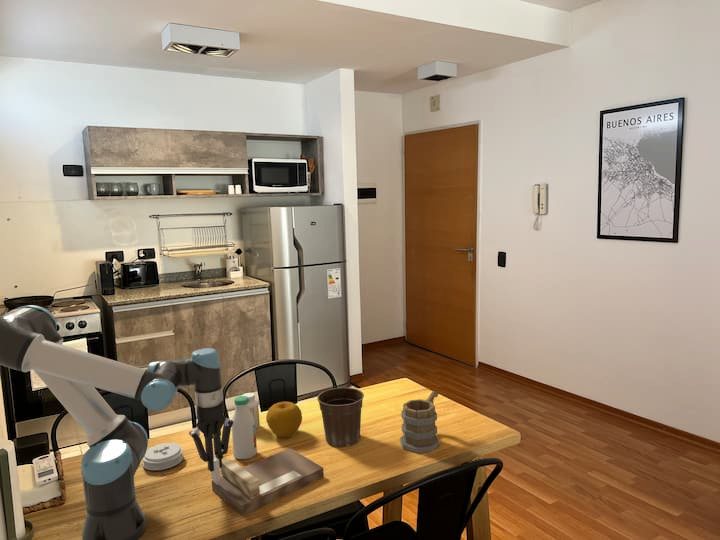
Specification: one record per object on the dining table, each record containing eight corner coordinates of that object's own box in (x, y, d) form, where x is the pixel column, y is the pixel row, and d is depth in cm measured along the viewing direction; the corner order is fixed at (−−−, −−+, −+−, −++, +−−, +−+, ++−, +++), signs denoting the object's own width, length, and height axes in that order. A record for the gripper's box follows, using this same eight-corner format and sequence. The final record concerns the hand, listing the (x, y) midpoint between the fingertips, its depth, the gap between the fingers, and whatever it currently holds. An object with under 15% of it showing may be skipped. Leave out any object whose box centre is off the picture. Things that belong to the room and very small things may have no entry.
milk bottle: (251, 461, 175) (247, 403, 172) (229, 459, 176) (225, 402, 173) (260, 449, 182) (256, 394, 179) (239, 448, 184) (235, 393, 181)
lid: (186, 451, 183) (185, 438, 182) (180, 470, 171) (178, 456, 170) (148, 455, 181) (146, 442, 180) (138, 475, 169) (137, 460, 168)
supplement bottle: (252, 422, 204) (249, 390, 202) (263, 426, 200) (261, 394, 198) (238, 428, 199) (235, 395, 197) (249, 433, 195) (247, 399, 193)
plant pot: (313, 448, 182) (310, 403, 179) (327, 427, 197) (325, 386, 195) (359, 452, 178) (357, 406, 176) (369, 430, 193) (368, 388, 191)
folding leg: (259, 493, 150) (258, 479, 149) (250, 497, 148) (249, 484, 147) (230, 470, 163) (229, 458, 162) (221, 474, 161) (220, 462, 160)
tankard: (426, 456, 174) (425, 413, 171) (394, 446, 181) (392, 404, 179) (454, 433, 189) (454, 393, 187) (423, 424, 197) (423, 386, 195)
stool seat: (242, 515, 145) (242, 505, 145) (212, 489, 158) (211, 480, 158) (323, 476, 163) (323, 467, 163) (290, 456, 177) (289, 447, 176)
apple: (269, 445, 185) (267, 413, 184) (265, 429, 198) (263, 400, 196) (305, 439, 189) (304, 408, 187) (299, 424, 201) (298, 395, 199)
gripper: (193, 413, 145) (200, 493, 148) (236, 399, 153) (242, 475, 157) (182, 406, 150) (189, 483, 154) (224, 393, 159) (230, 466, 163)
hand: (216, 479), depth 156 cm, fingers closed
